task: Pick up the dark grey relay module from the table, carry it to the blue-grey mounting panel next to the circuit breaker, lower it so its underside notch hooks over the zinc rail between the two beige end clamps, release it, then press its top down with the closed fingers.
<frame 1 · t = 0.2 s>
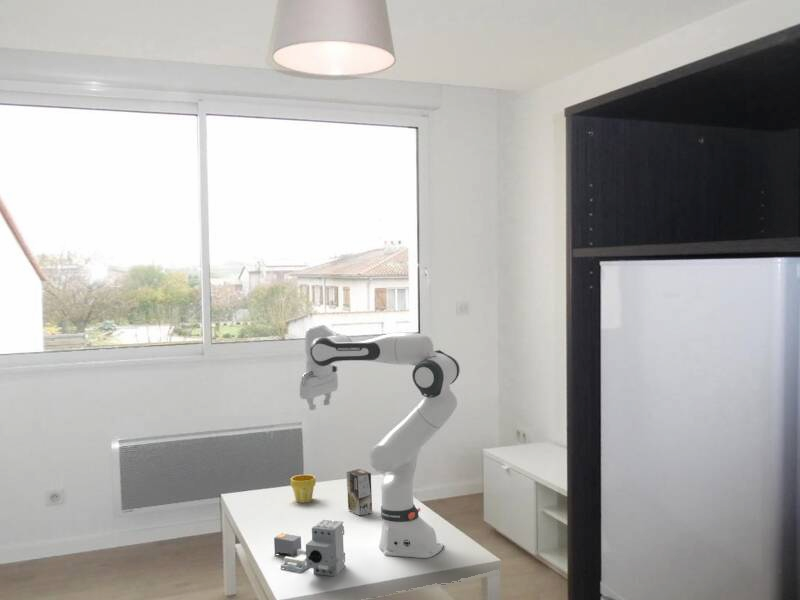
hand: (319, 407, 269), 47 cm above the table, tool pointing down, fingers open, 8 cm apart
circuit breaker: (325, 574, 237), on the table
panel: (303, 562, 246), on the table
coffee box: (360, 512, 295), on the table
module: (288, 554, 254), on the table
plant pot: (304, 500, 312), on the table
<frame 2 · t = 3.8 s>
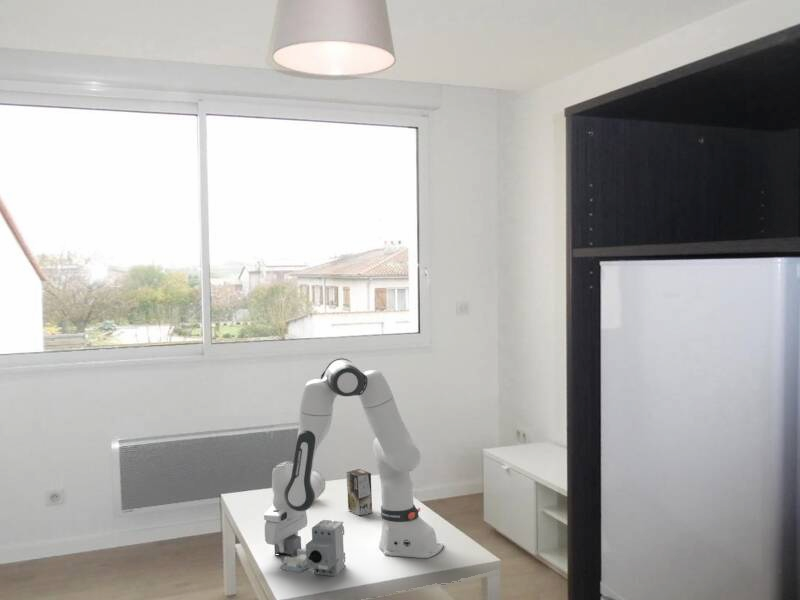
hand: (287, 548, 254), 2 cm above the table, tool pointing down, fingers closed on module, 4 cm apart
module: (288, 554, 254), on the table, touching gripper
everything else where it was.
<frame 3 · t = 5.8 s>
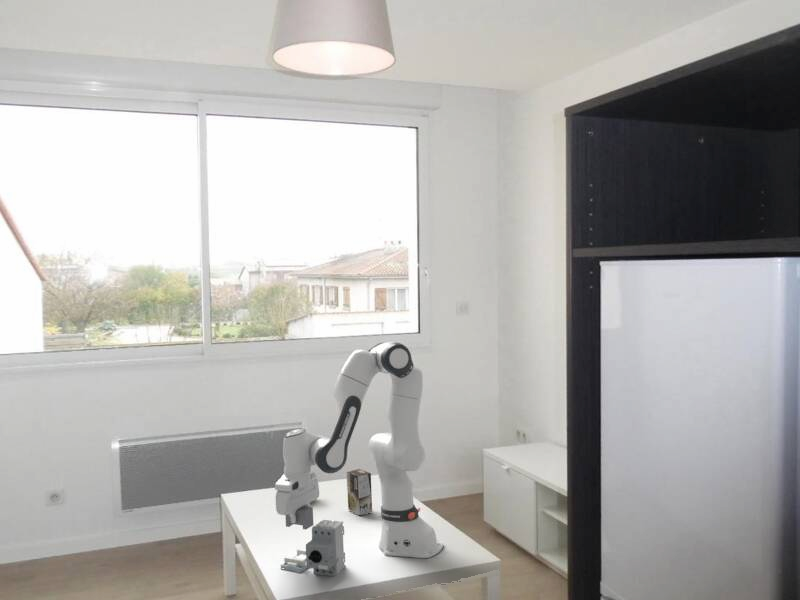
hand: (299, 519, 245), 15 cm above the table, tool pointing down, fingers closed on module, 4 cm apart
module: (299, 525, 245), point 13 cm above the table, touching gripper
everything else where it was.
when the fingers open (4 cm above the table, at t = 7.6 s): module stays where it is, resting on panel.
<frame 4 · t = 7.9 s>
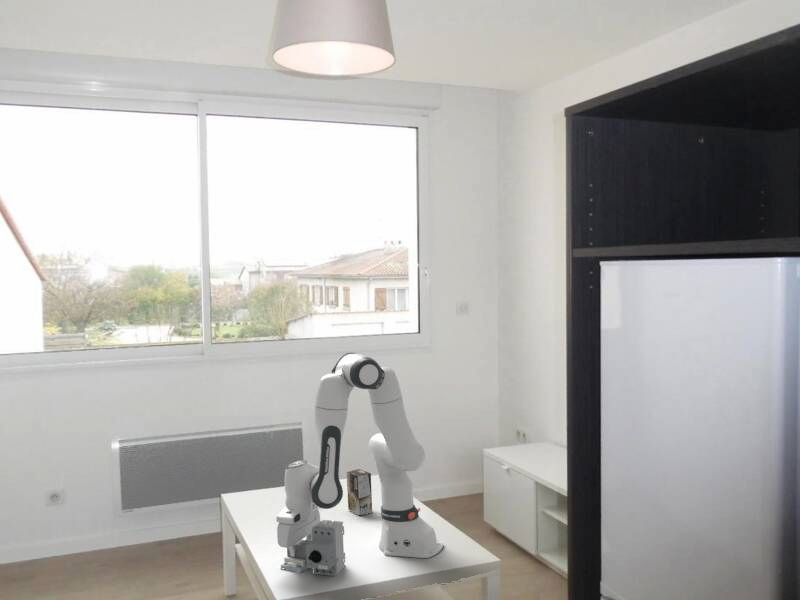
hand: (301, 550, 245), 4 cm above the table, tool pointing down, fingers open, 7 cm apart
module: (301, 560, 246), point 1 cm above the table, touching panel
everything else where it was.
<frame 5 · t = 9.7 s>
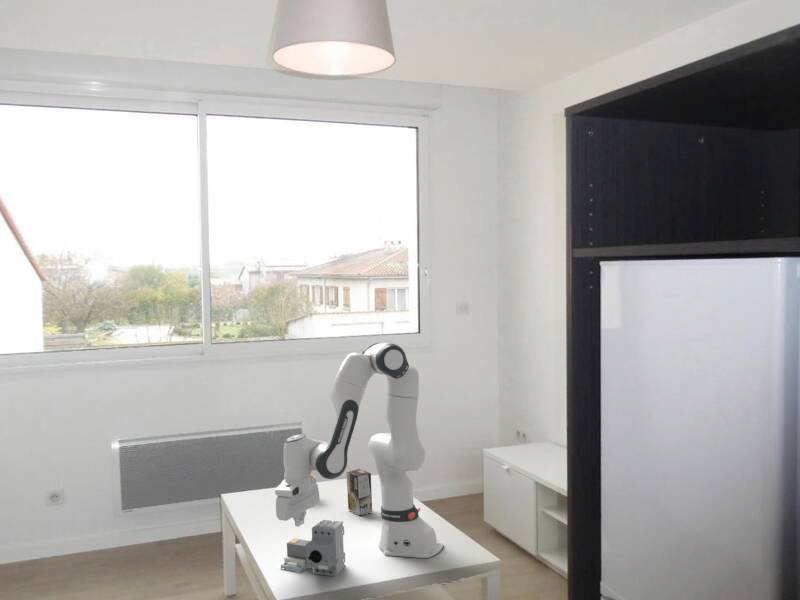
hand: (299, 525, 245), 13 cm above the table, tool pointing down, fingers closed
nothing on the table moved.
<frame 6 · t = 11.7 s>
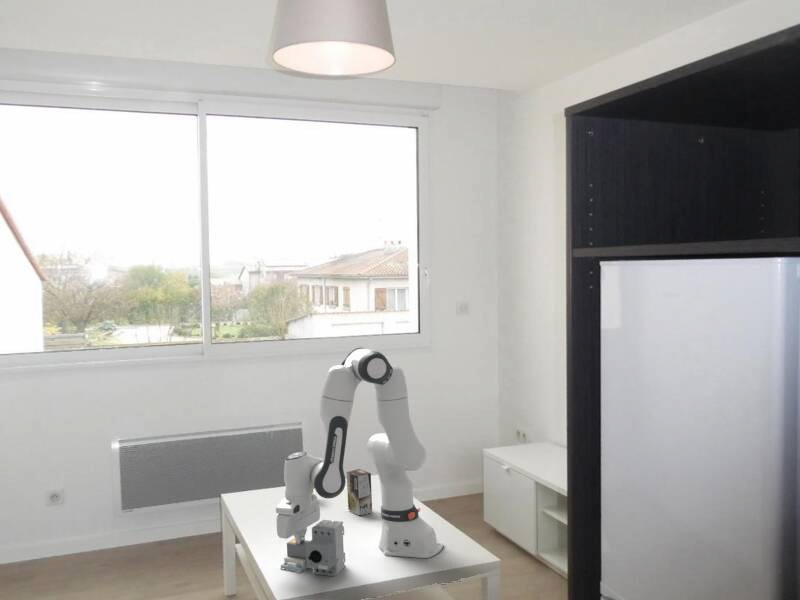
hand: (300, 542, 245), 7 cm above the table, tool pointing down, fingers closed, pressing on module
module: (301, 560, 246), point 1 cm above the table, touching gripper, panel
everything else where it was.
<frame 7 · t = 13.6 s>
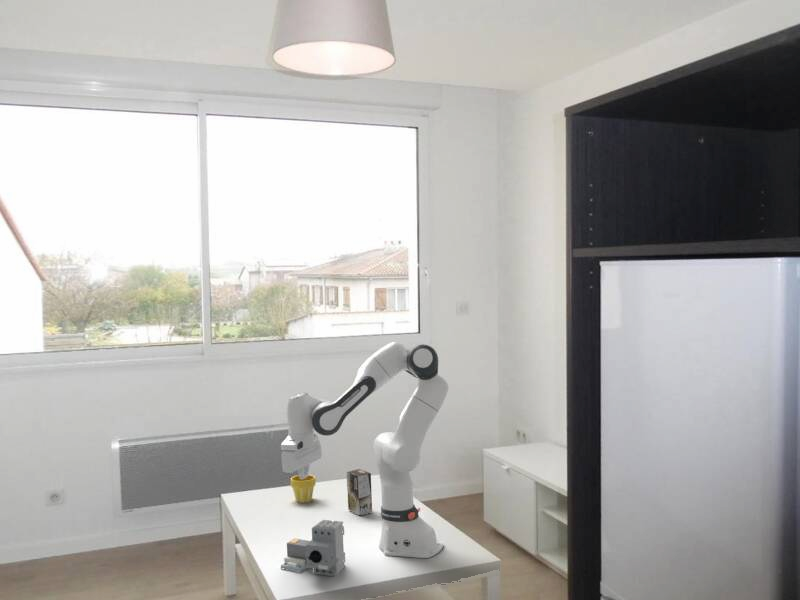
hand: (303, 478, 260), 24 cm above the table, tool pointing down, fingers closed
module: (301, 560, 246), point 1 cm above the table, touching panel
everything else where it was.
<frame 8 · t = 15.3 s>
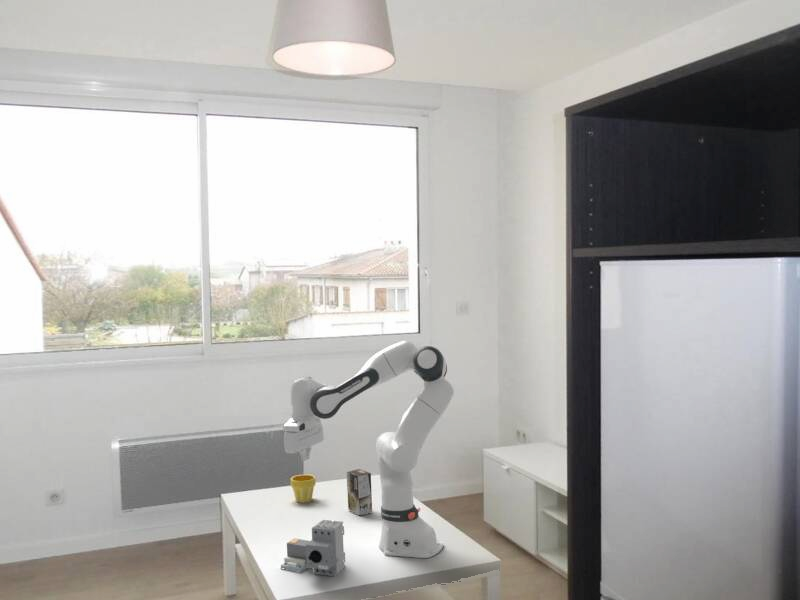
hand: (305, 459, 267), 29 cm above the table, tool pointing down, fingers closed
nothing on the table moved.
at the end: module 0.0 cm from the target spot, point 1.2 cm above the table; module tilted 0°; the gripper is holding nothing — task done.
